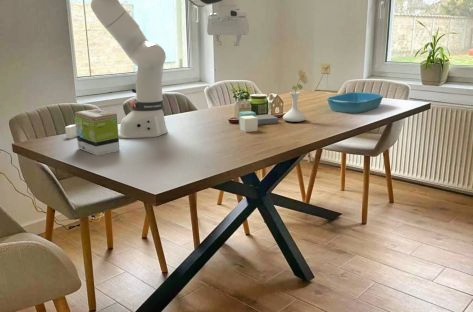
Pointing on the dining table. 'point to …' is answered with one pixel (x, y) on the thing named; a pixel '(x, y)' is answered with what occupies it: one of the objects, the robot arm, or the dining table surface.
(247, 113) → the teal block
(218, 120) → the dining table surface
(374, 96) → the casserole dish
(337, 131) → the dining table surface
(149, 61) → the robot arm
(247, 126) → the cream block
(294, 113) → the flower in vase
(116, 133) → the tea box
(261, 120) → the plate
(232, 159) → the dining table surface
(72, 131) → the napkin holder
